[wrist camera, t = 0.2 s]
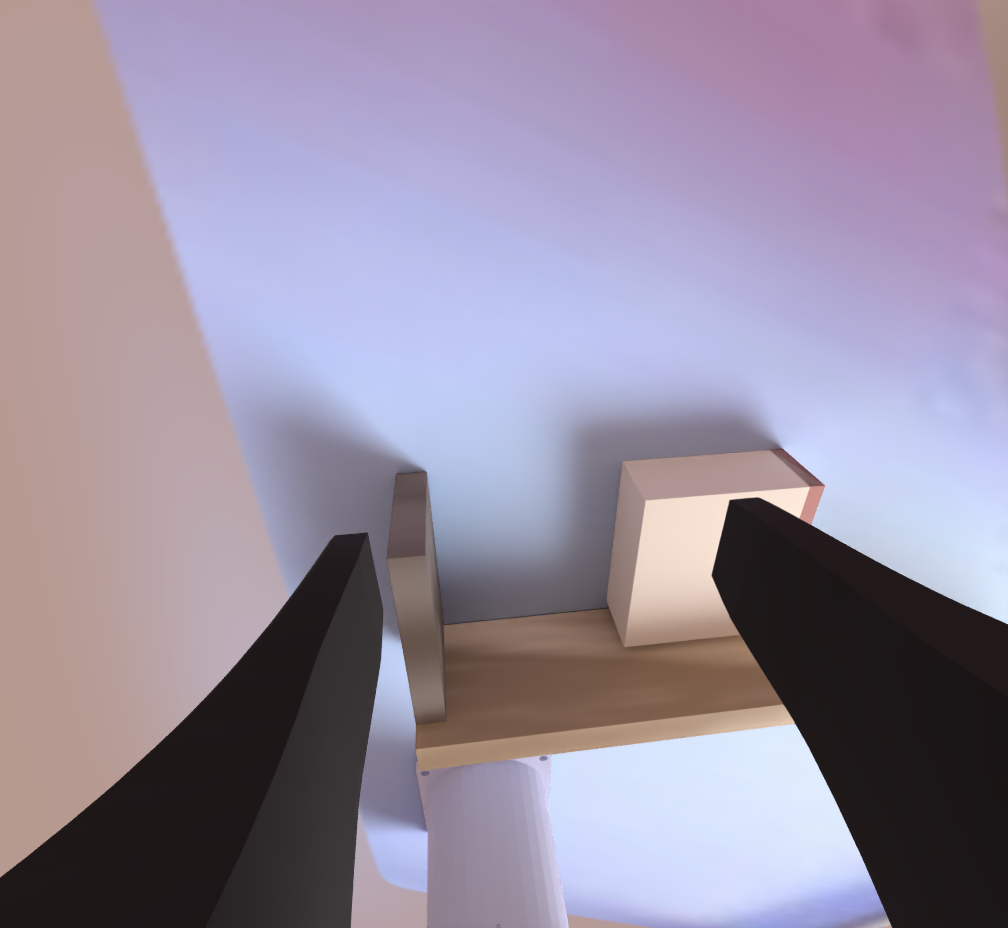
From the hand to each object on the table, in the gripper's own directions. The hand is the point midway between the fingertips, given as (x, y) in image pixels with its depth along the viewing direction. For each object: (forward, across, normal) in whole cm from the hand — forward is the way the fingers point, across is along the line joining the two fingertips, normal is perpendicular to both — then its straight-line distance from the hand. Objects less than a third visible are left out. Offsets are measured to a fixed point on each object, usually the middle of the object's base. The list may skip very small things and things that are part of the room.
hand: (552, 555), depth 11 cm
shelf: (+10, -4, +8) cm, 14 cm away
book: (+10, -8, +8) cm, 16 cm away
